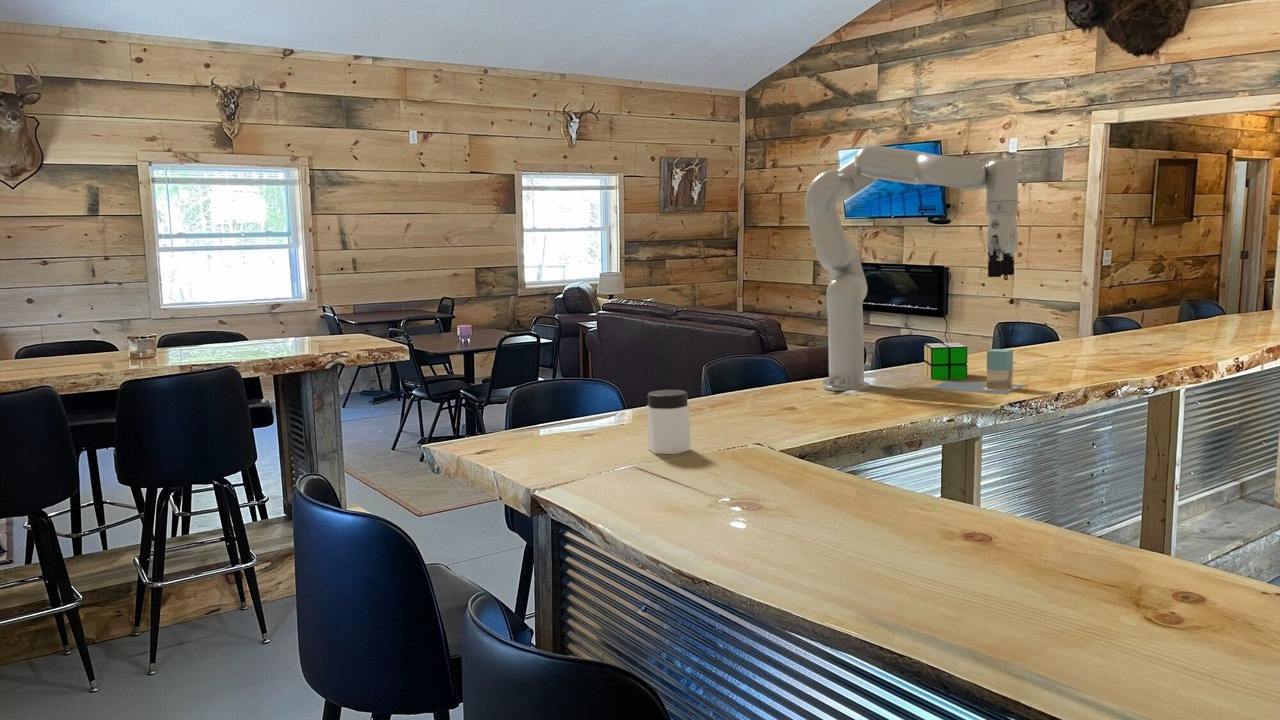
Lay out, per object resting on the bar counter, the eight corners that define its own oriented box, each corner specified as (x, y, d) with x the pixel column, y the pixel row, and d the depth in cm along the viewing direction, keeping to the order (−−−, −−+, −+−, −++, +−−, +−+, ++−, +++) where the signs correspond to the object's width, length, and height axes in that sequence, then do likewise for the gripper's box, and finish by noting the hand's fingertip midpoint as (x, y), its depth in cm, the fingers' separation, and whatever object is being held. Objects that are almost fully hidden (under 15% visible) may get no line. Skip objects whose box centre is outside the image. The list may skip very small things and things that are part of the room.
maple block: (1006, 390, 239) (1006, 371, 239) (986, 388, 242) (986, 370, 242) (1012, 387, 243) (1012, 368, 242) (993, 386, 246) (993, 367, 246)
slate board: (1007, 397, 234) (1007, 394, 234) (926, 391, 247) (926, 388, 247) (1027, 388, 246) (1027, 384, 246) (949, 382, 259) (949, 379, 259)
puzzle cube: (959, 376, 271) (959, 342, 269) (967, 381, 261) (967, 346, 259) (923, 377, 272) (923, 343, 270) (931, 382, 262) (931, 347, 260)
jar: (670, 443, 197) (668, 387, 195) (698, 448, 191) (696, 391, 189) (640, 451, 191) (637, 393, 189) (667, 456, 185) (665, 397, 183)
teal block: (1006, 371, 239) (1006, 351, 238) (986, 370, 242) (987, 351, 241) (1012, 368, 242) (1013, 349, 242) (993, 367, 246) (993, 348, 245)
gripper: (1005, 208, 228) (1004, 277, 230) (1027, 208, 241) (1026, 274, 243) (975, 209, 233) (974, 277, 235) (998, 209, 246) (997, 274, 248)
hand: (1001, 275), depth 239 cm, fingers open, 9 cm apart
